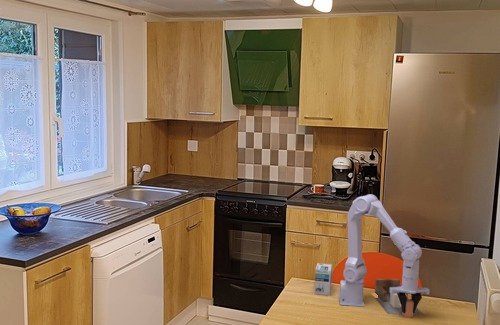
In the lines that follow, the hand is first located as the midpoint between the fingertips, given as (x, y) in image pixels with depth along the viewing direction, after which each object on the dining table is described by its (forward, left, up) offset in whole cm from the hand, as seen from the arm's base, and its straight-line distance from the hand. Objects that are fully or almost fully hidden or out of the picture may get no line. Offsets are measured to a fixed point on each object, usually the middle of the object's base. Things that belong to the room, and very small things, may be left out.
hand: (408, 312), depth 203 cm
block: (-1, +6, -2) cm, 7 cm away
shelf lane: (-3, +14, -2) cm, 15 cm away
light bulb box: (-31, +23, -2) cm, 39 cm away
